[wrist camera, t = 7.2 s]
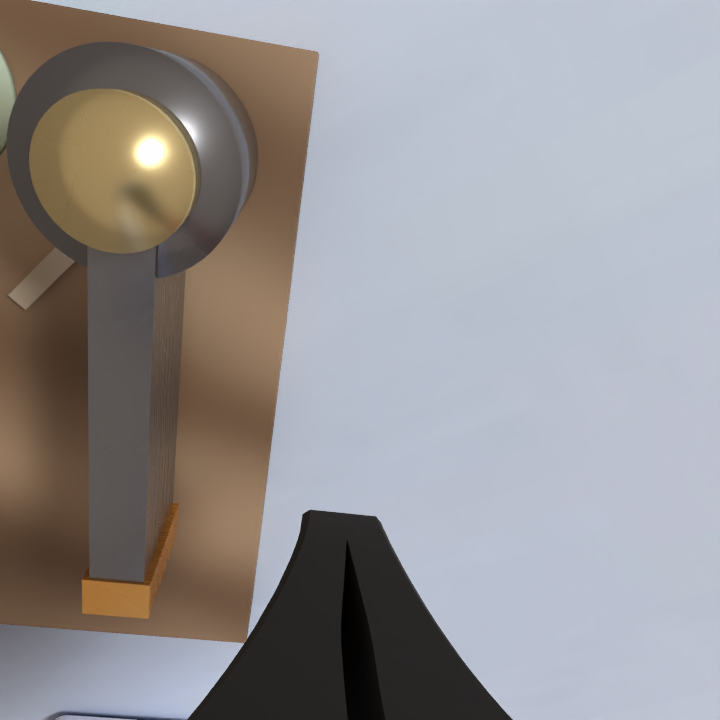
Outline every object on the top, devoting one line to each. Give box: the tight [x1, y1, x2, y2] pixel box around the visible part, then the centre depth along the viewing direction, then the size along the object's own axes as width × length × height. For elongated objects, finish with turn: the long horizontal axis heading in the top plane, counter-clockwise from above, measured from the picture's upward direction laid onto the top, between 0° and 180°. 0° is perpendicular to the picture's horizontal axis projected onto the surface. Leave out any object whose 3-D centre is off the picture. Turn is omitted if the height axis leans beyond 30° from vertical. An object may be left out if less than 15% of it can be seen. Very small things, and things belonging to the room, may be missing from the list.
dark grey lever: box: [7, 42, 258, 619], centre depth 14 cm, size 12×4×4 cm, turn 171°
